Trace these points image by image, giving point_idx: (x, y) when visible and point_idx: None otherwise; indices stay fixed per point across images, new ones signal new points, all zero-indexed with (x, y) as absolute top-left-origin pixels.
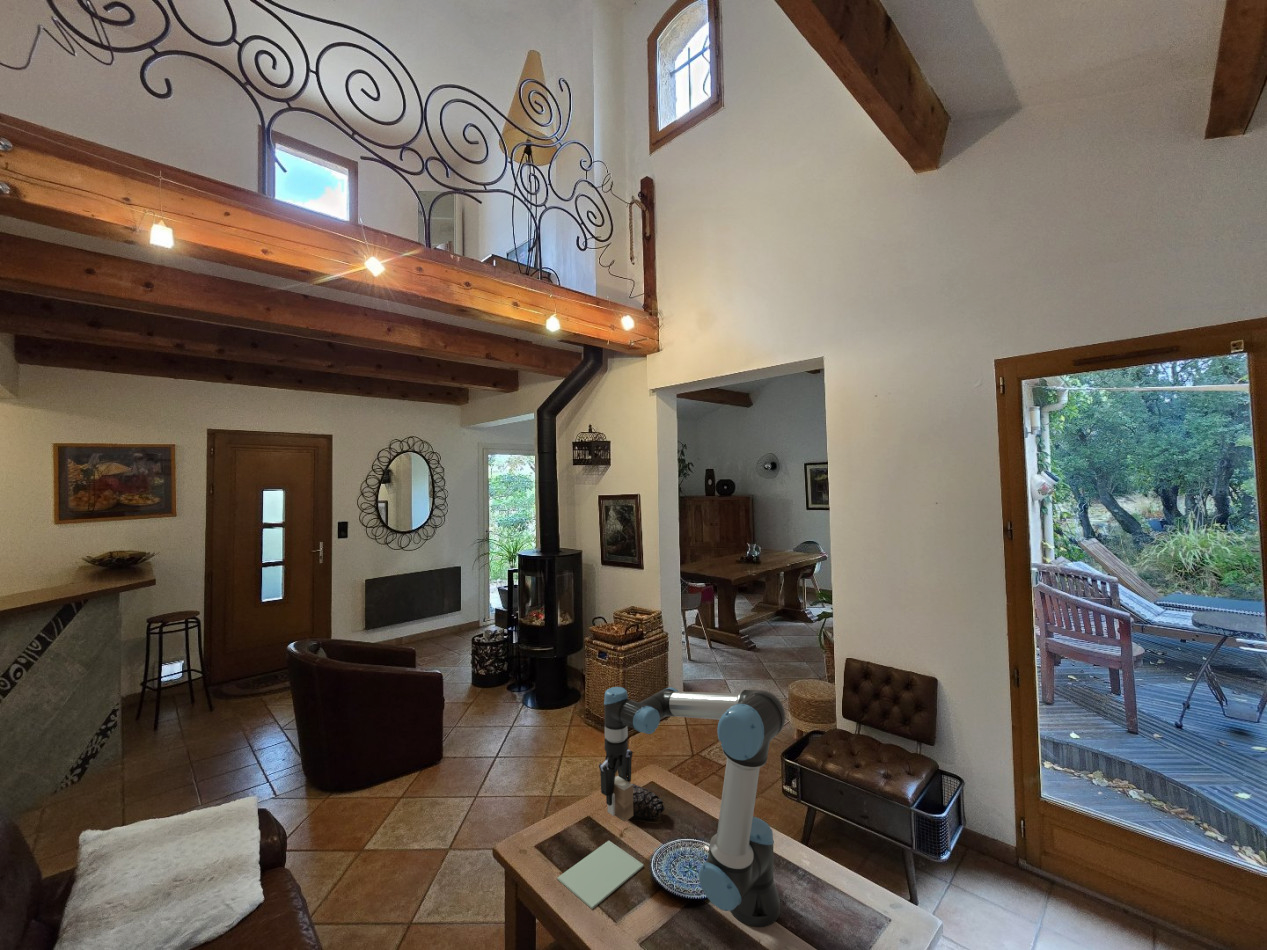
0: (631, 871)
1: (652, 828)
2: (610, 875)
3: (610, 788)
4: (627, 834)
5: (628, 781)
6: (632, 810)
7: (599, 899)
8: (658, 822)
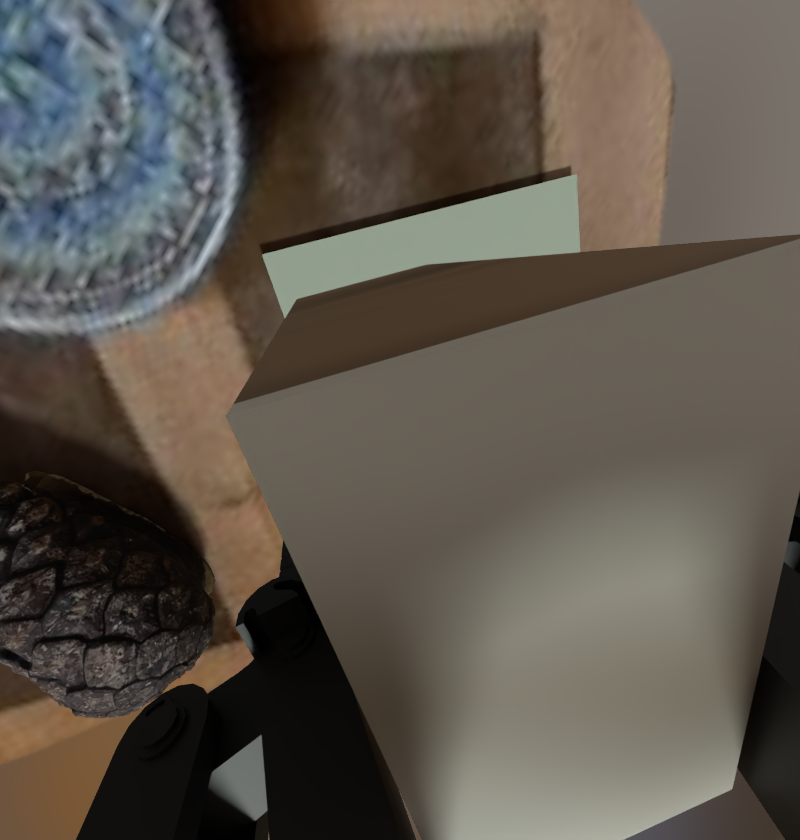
0: (337, 249)
1: (100, 454)
2: None
3: (792, 583)
4: (241, 470)
5: (210, 707)
6: (309, 299)
7: (534, 191)
8: (47, 477)
